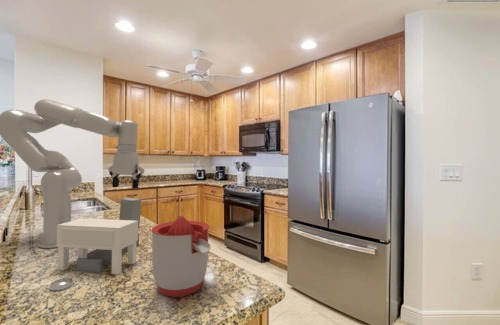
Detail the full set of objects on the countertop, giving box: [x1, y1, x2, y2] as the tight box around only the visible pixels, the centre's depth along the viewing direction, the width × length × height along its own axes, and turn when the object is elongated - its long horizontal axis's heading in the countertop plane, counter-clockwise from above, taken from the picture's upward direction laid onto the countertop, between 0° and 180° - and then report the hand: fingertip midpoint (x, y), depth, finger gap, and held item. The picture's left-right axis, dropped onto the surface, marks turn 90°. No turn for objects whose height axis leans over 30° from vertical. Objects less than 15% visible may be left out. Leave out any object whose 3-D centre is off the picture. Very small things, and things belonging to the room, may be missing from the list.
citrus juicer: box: [151, 215, 211, 298], centre depth 70 cm, size 16×17×20 cm
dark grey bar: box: [76, 232, 140, 274], centre depth 93 cm, size 8×26×6 cm, turn 172°
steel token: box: [49, 277, 73, 292], centre depth 71 cm, size 5×5×2 cm
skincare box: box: [118, 197, 142, 229], centre depth 133 cm, size 8×7×16 cm
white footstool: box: [56, 217, 139, 275], centre depth 85 cm, size 22×10×14 cm, turn 82°
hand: (125, 187), depth 111 cm, fingers open, 9 cm apart
